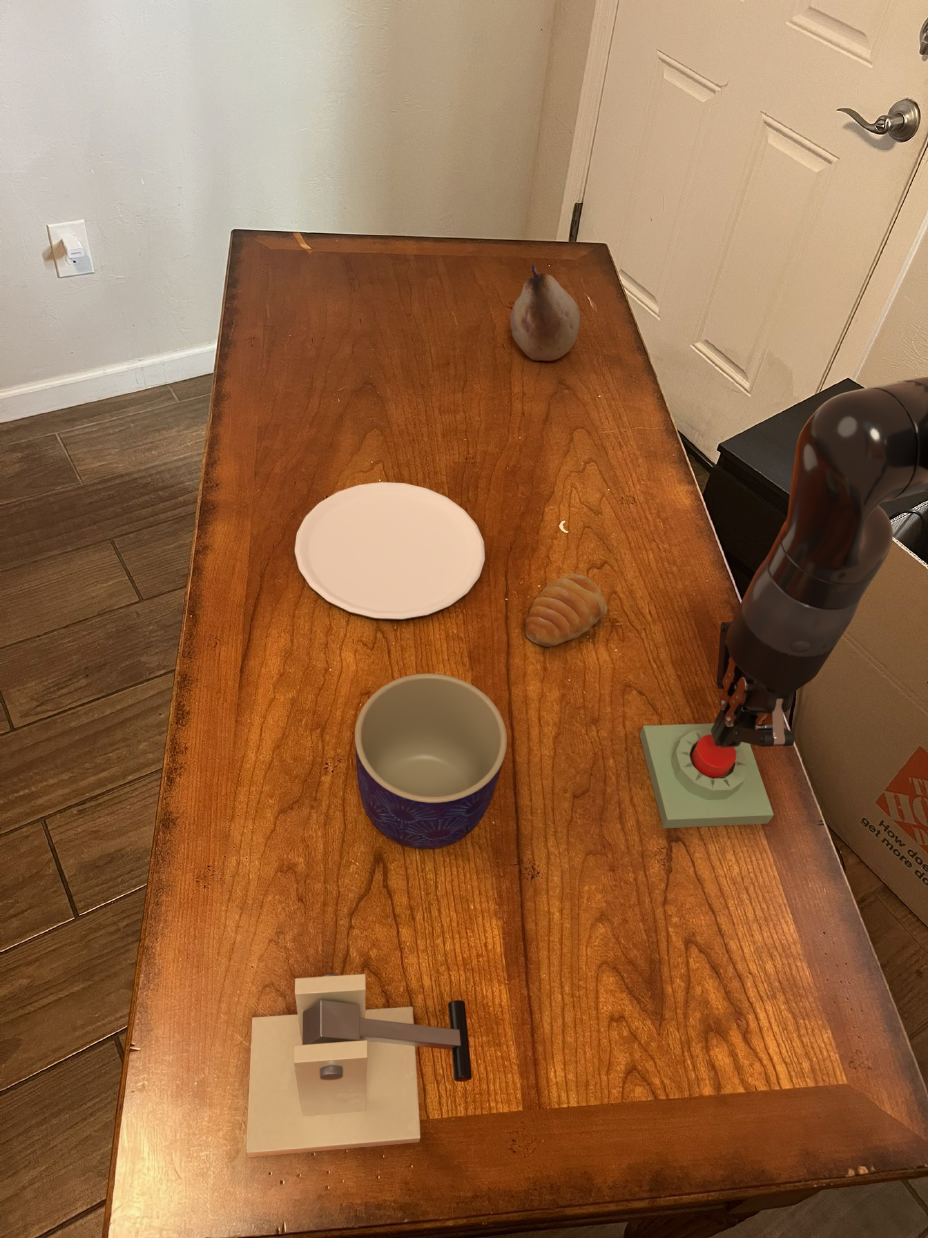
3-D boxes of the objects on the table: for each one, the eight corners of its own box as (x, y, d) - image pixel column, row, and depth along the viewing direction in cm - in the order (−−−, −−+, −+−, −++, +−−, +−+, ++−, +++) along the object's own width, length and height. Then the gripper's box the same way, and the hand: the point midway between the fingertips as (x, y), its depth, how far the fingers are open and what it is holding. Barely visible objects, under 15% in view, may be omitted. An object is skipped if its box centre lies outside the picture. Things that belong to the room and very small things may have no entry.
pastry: (558, 664, 96) (565, 641, 93) (507, 629, 98) (511, 605, 95) (609, 614, 101) (616, 590, 98) (558, 582, 103) (564, 557, 101)
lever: (453, 1009, 67) (473, 998, 65) (459, 1085, 64) (480, 1075, 62) (302, 989, 61) (320, 976, 59) (301, 1072, 58) (320, 1061, 56)
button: (735, 777, 85) (741, 767, 84) (697, 778, 85) (702, 768, 84) (724, 743, 88) (730, 733, 86) (687, 744, 87) (692, 734, 86)
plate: (254, 559, 101) (253, 551, 100) (377, 464, 113) (377, 456, 112) (406, 658, 95) (406, 650, 94) (520, 545, 106) (521, 538, 105)
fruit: (503, 328, 134) (514, 249, 125) (567, 329, 135) (583, 251, 126) (512, 371, 128) (524, 291, 119) (580, 372, 129) (597, 293, 120)
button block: (767, 824, 86) (781, 805, 84) (662, 828, 85) (672, 809, 82) (737, 731, 93) (748, 711, 90) (639, 735, 91) (647, 714, 89)
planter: (404, 891, 79) (410, 830, 71) (328, 782, 85) (325, 714, 77) (519, 818, 84) (538, 753, 76) (440, 720, 90) (449, 650, 82)
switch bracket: (412, 1012, 73) (422, 939, 61) (419, 1142, 67) (433, 1088, 56) (253, 1023, 71) (235, 950, 60) (247, 1157, 65) (225, 1105, 54)
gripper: (872, 684, 67) (786, 803, 80) (811, 549, 75) (742, 678, 88) (772, 687, 66) (701, 807, 79) (721, 550, 74) (665, 679, 87)
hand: (723, 738), depth 84 cm, fingers closed
